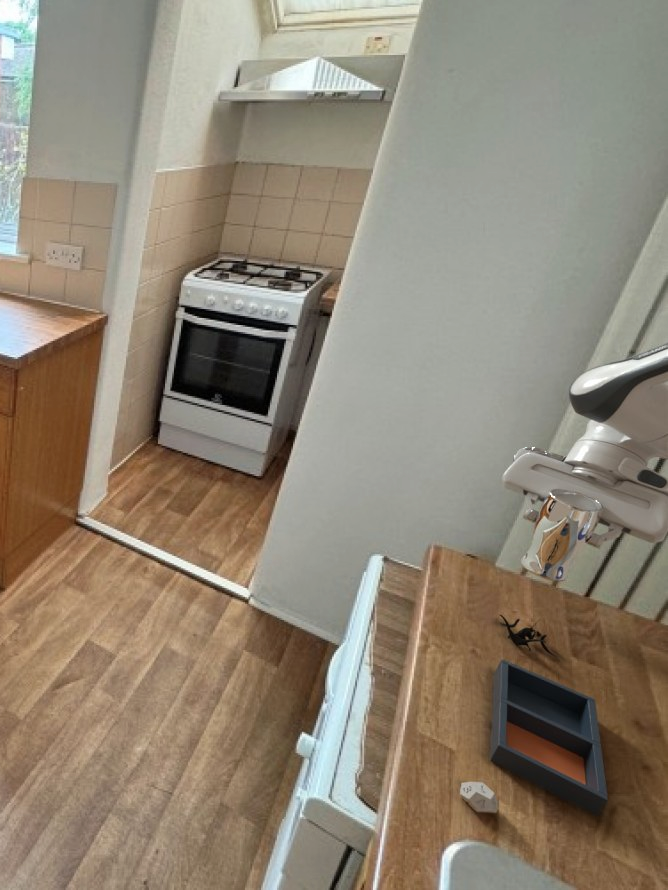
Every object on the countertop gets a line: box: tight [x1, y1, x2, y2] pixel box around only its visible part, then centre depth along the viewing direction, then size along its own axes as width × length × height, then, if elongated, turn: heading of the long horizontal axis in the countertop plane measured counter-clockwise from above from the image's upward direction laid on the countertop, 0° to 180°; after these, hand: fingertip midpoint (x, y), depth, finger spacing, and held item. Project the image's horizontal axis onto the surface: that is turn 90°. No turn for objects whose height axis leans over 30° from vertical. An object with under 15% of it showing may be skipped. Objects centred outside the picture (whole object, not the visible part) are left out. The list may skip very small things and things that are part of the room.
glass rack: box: [489, 658, 609, 817], centre depth 84 cm, size 19×10×4 cm, turn 136°
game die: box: [459, 781, 499, 814], centre depth 76 cm, size 4×4×3 cm
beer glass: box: [519, 489, 604, 582], centre depth 104 cm, size 7×7×15 cm
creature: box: [499, 614, 558, 659], centre depth 100 cm, size 8×5×8 cm
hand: (560, 532), depth 104 cm, fingers closed on beer glass, 7 cm apart
